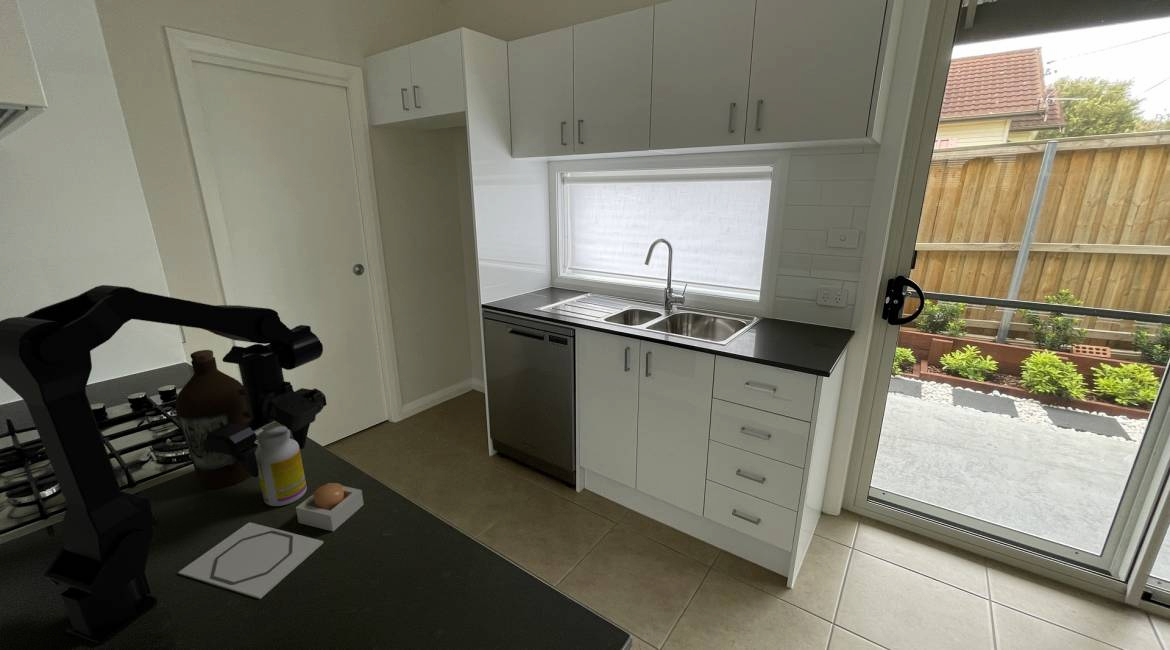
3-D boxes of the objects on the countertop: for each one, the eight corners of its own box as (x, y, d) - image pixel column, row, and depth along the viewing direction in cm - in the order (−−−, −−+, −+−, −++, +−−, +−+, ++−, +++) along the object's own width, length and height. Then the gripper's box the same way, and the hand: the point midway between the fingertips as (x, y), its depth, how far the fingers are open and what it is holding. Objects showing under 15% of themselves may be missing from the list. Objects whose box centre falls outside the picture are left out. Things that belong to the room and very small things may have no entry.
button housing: (333, 531, 77) (330, 515, 76) (298, 522, 79) (295, 507, 78) (363, 504, 83) (361, 490, 82) (331, 497, 85) (328, 482, 84)
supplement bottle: (315, 486, 88) (304, 424, 85) (290, 509, 82) (278, 443, 78) (281, 483, 89) (269, 422, 85) (254, 506, 82) (240, 441, 79)
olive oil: (212, 462, 95) (183, 344, 88) (271, 456, 98) (248, 341, 90) (182, 494, 85) (147, 365, 78) (248, 486, 88) (221, 360, 81)
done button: (331, 514, 78) (328, 501, 77) (309, 509, 79) (307, 496, 78) (350, 498, 82) (348, 485, 81) (329, 493, 83) (327, 481, 82)
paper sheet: (260, 599, 64) (259, 596, 64) (178, 573, 68) (178, 571, 68) (323, 542, 74) (323, 540, 74) (249, 523, 78) (249, 521, 78)
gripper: (248, 411, 68) (268, 503, 73) (345, 365, 85) (355, 442, 90) (191, 401, 71) (213, 490, 75) (295, 359, 88) (308, 433, 93)
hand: (279, 461), depth 83 cm, fingers open, 9 cm apart
